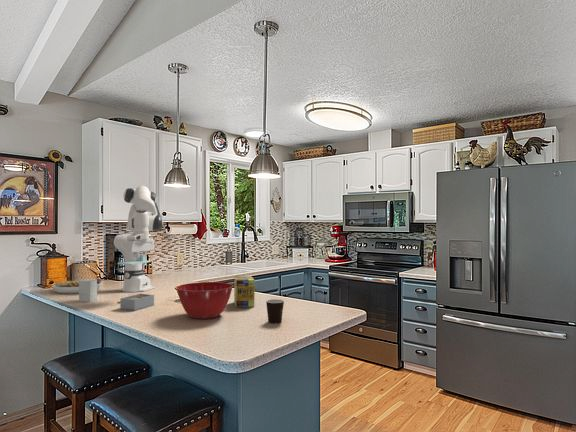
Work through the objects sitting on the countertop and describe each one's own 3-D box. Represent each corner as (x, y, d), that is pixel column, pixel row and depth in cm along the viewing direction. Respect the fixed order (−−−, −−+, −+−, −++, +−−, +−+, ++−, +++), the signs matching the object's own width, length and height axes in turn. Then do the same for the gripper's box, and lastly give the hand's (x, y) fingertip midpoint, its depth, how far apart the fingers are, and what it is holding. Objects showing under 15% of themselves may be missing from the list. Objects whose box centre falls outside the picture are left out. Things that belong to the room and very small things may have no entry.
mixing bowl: (172, 312, 208) (172, 283, 208) (225, 307, 219) (225, 280, 220) (180, 325, 182) (180, 292, 182) (239, 319, 193) (239, 288, 194)
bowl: (49, 296, 249) (49, 284, 249) (55, 288, 276) (55, 277, 277) (101, 293, 261) (101, 281, 261) (102, 285, 289) (102, 275, 289)
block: (139, 304, 223) (139, 295, 223) (145, 304, 222) (145, 296, 222) (136, 305, 220) (136, 296, 220) (141, 305, 219) (141, 297, 219)
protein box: (236, 308, 219) (236, 280, 219) (234, 302, 234) (234, 276, 234) (254, 307, 221) (254, 279, 221) (251, 301, 236) (251, 275, 236)
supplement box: (97, 299, 239) (97, 278, 239) (90, 302, 231) (90, 280, 231) (85, 299, 239) (86, 278, 240) (78, 301, 232) (78, 280, 232)
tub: (140, 303, 227) (140, 293, 227) (154, 305, 224) (154, 294, 224) (120, 309, 213) (120, 298, 214) (134, 311, 210) (134, 299, 210)
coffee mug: (277, 325, 184) (277, 303, 184) (262, 322, 189) (262, 301, 189) (290, 319, 194) (290, 299, 194) (275, 317, 198) (276, 297, 199)
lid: (137, 261, 243) (137, 254, 243) (150, 262, 239) (150, 255, 239) (117, 264, 229) (117, 256, 229) (131, 265, 225) (131, 257, 225)
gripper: (149, 235, 250) (148, 257, 250) (124, 237, 231) (124, 260, 231) (157, 235, 247) (156, 257, 247) (133, 237, 229) (132, 260, 228)
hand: (141, 259), depth 239 cm, fingers closed on lid, 2 cm apart
